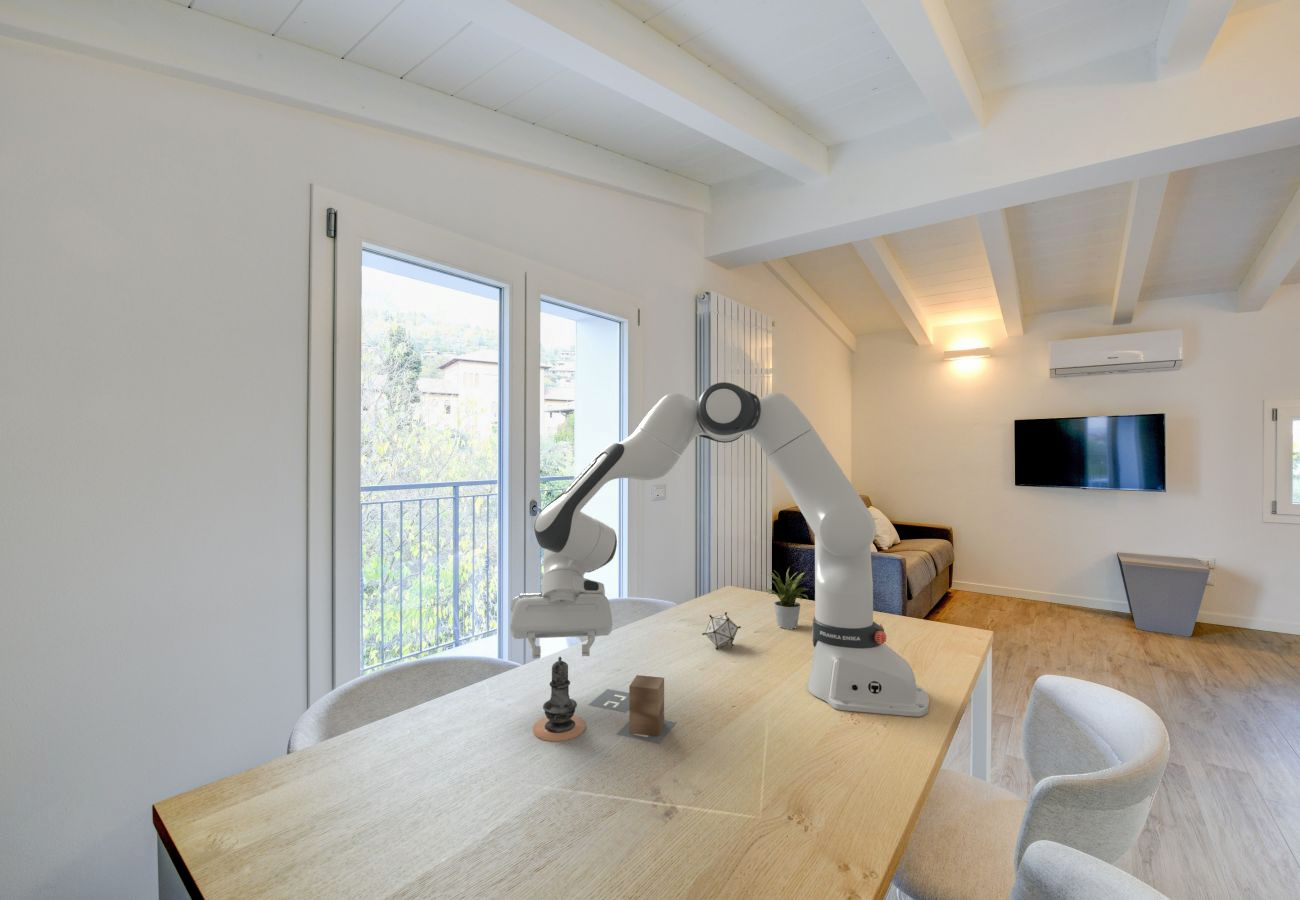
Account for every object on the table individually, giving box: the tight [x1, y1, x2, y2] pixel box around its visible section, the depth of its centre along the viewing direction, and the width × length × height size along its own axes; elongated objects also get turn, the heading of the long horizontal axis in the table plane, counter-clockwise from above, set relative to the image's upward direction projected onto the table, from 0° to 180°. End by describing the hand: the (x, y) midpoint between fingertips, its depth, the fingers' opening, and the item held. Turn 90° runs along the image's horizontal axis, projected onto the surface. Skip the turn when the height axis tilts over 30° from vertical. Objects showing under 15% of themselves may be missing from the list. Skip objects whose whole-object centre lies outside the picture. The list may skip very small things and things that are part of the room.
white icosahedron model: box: [701, 611, 742, 650], centre depth 142 cm, size 9×8×10 cm
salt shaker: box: [542, 656, 578, 733], centre depth 100 cm, size 6×6×12 cm
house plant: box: [760, 566, 810, 628], centre depth 158 cm, size 14×14×16 cm
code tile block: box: [616, 719, 678, 745], centre depth 100 cm, size 8×8×1 cm
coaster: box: [532, 715, 586, 742], centre depth 100 cm, size 9×9×1 cm
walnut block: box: [628, 674, 665, 737], centre depth 100 cm, size 5×5×8 cm
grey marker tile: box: [587, 688, 629, 713], centre depth 111 cm, size 8×8×1 cm
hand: (561, 656), depth 111 cm, fingers open, 8 cm apart
